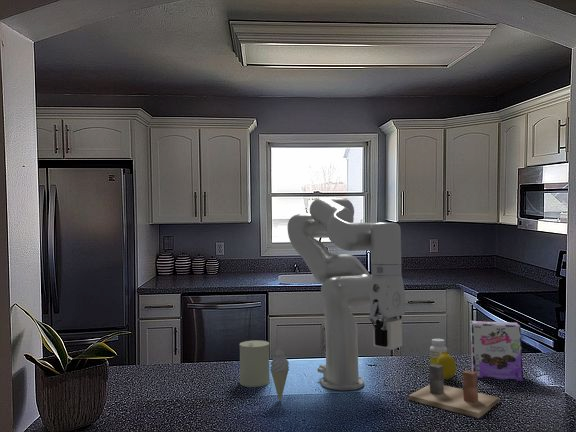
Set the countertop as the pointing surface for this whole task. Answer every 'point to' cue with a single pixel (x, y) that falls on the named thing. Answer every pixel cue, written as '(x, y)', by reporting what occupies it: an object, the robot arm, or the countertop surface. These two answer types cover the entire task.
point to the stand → (454, 394)
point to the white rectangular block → (392, 333)
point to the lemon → (447, 365)
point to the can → (254, 363)
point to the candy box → (496, 350)
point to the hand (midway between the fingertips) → (387, 342)
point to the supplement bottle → (437, 350)
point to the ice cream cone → (279, 371)
